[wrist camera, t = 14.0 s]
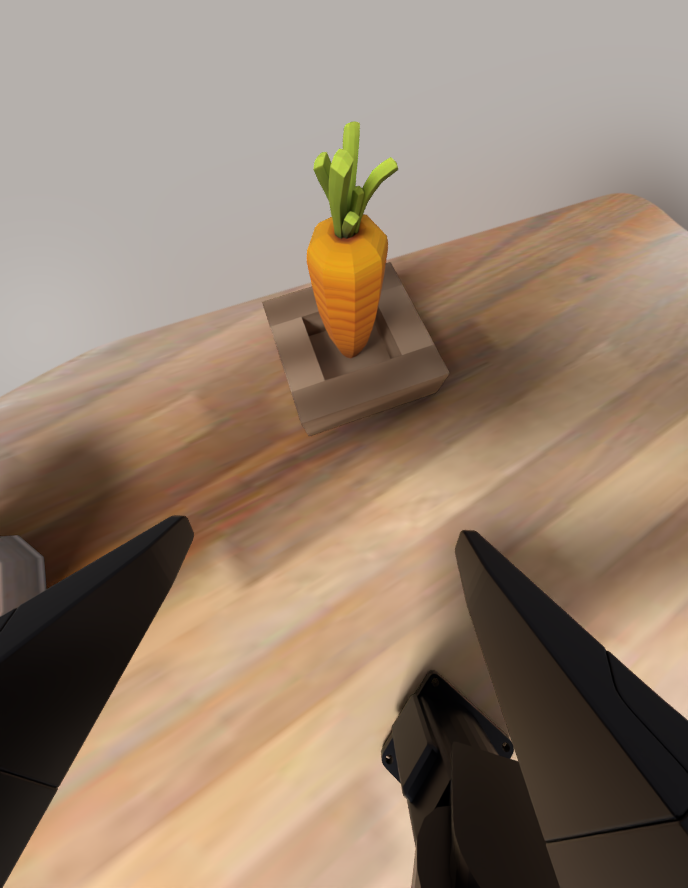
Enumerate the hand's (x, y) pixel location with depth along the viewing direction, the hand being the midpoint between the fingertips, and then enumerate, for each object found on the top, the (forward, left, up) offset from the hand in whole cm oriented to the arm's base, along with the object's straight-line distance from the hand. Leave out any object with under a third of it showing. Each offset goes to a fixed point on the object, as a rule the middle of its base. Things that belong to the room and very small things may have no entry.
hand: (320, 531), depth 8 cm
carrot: (+9, -13, -13) cm, 20 cm away
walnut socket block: (+9, -13, -14) cm, 21 cm away
